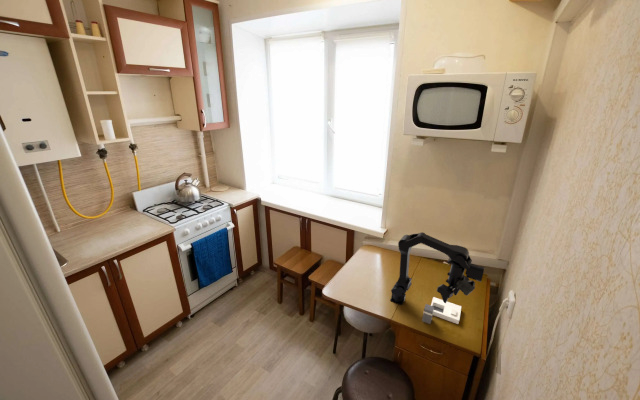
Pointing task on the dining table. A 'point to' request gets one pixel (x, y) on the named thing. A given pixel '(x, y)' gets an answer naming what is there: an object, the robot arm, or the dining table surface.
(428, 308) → the plug
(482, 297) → the dining table surface
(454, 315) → the socket plate
